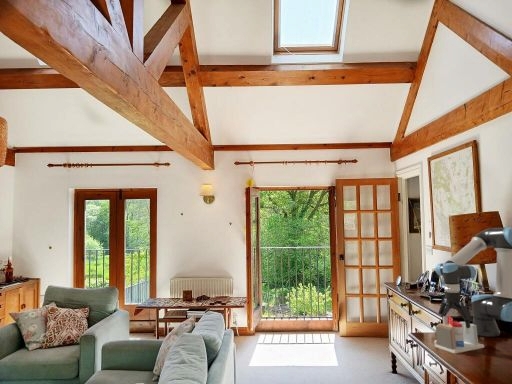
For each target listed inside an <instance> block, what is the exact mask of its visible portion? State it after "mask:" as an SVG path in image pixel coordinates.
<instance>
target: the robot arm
mask: <svg viewBox="0 0 512 384" xmlns="http://www.w3.org/2000/svg"><path fill="white" fill-rule="evenodd" d="M470 240H471V241H469V243H467V244H466V245H465V246H464V247H462V248H461V249H460V250H458V252H456V253H455V254H454V255H452V257H450V258H449V259H448V260H447V261H445V262H444V263H442V262H441V263H438V264H436V266H435V267H434V268H435V273H436V274H437V275H438V276H440V277H443V285H444V291H445V292H444V294H445V296H444V297H445V298H441V304H440V307H439V310H438V315H440V316H441V319H442V324H445V325H449V323H448V313H449V312H450V310H451V309H453V310H455V311H458V313H459V315H460V316H461V317H462V319H463V320H464V321H463V322H464V329H465V334H470V330H469V328H470V324H474V325H476V326H477V336H482V337H499V336H500V335H501V331H500V329H499V327H498V324H497V321H496V320H501V321H504V322H510V323H511V322H512V227H490V228H486V229H484V230H482V231H480V232H479V233H477V234H475V235H473V237H471V239H470ZM487 248H493V250H494V251H496V272H495V273H496V276H495V277H496V278H495V292H494V293H493V294H489V293H488V294H473V295H472V296H471V310H472V314H471V312H470V310H469V309H468V306H467V303H466V301H461V299H462V296H461V292H460V291H461V287H460V286H461V285H460V280H471V279H474V278H475V277H476V276H477V270H476V268H475V267H474V266H473V265H470V264H467V263H468V262H469V261H471V259H473V258H474V257H476V255H478V254H479V253H480V252H481V251H485V250H487ZM471 322H472V323H471Z"/></svg>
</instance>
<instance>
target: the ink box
mask: <svg viewBox="0 0 512 384" xmlns="http://www.w3.org/2000/svg"><path fill="white" fill-rule="evenodd" d="M447 317H448V325H449V326H453V327H454V329H455V340H456V347H464V340H463V330H462V324H461V323H459V322H460V321H458V320H454V319H453V318H452V317H451V316H450V315H447Z"/></svg>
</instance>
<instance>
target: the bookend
mask: <svg viewBox="0 0 512 384" xmlns="http://www.w3.org/2000/svg"><path fill="white" fill-rule="evenodd" d="M458 322H459V323H461V324H462V330H463V340H464V342H468V343H471V344H474V345H476V344H478V343H479V339H478V336H479V335H477V326H476V325H474V324H472V323H470V328H469V330H470V334H465V329H464V321H458Z"/></svg>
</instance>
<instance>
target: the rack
mask: <svg viewBox="0 0 512 384" xmlns="http://www.w3.org/2000/svg"><path fill="white" fill-rule="evenodd" d="M435 333H436V335H435V336H436V340H434V347H435V348H438V349H440V350H444V351H446V352H450V353H452V354H459V353H465V352H468V351H470V352H471V351H475V350H479V349H484V348H485V344H482V343H480V342H478V344H476V345H474V344H471V343H468V342H464V347H456V340H455V329H454V327H453V326H449V324H448V325H445V324H443V323H437V325H435Z"/></svg>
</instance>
